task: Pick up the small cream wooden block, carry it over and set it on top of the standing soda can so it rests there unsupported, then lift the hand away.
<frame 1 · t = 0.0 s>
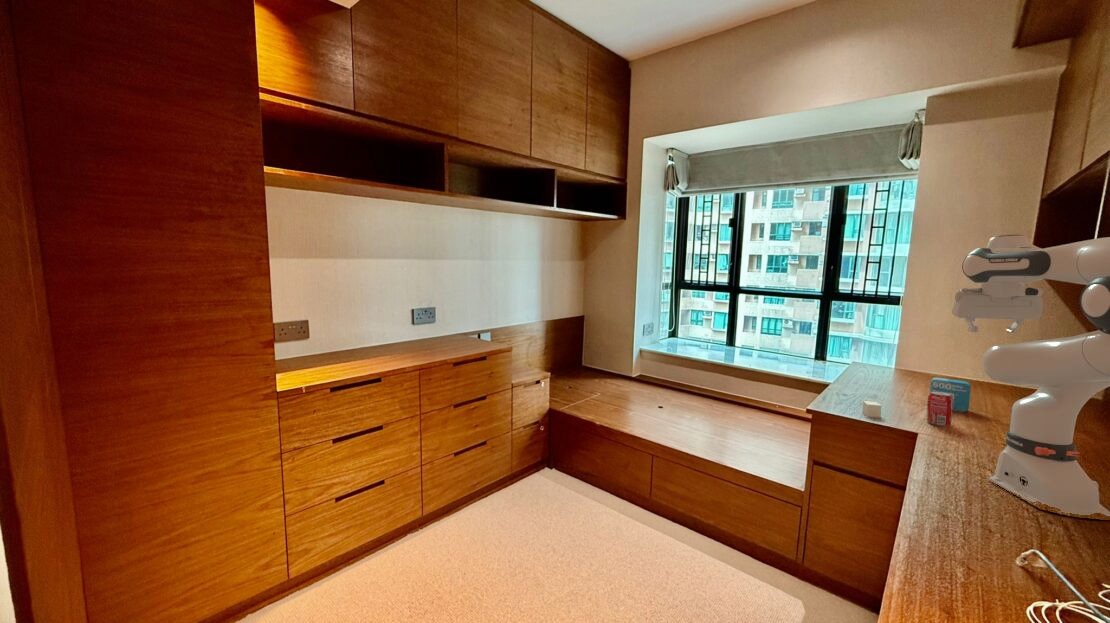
hand: (991, 332, 132), 39 cm above the worktop, tool pointing down, fingers open, 8 cm apart
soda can: (938, 424, 160), on the worktop
cream block: (871, 415, 170), on the worktop
data package: (948, 408, 176), on the worktop
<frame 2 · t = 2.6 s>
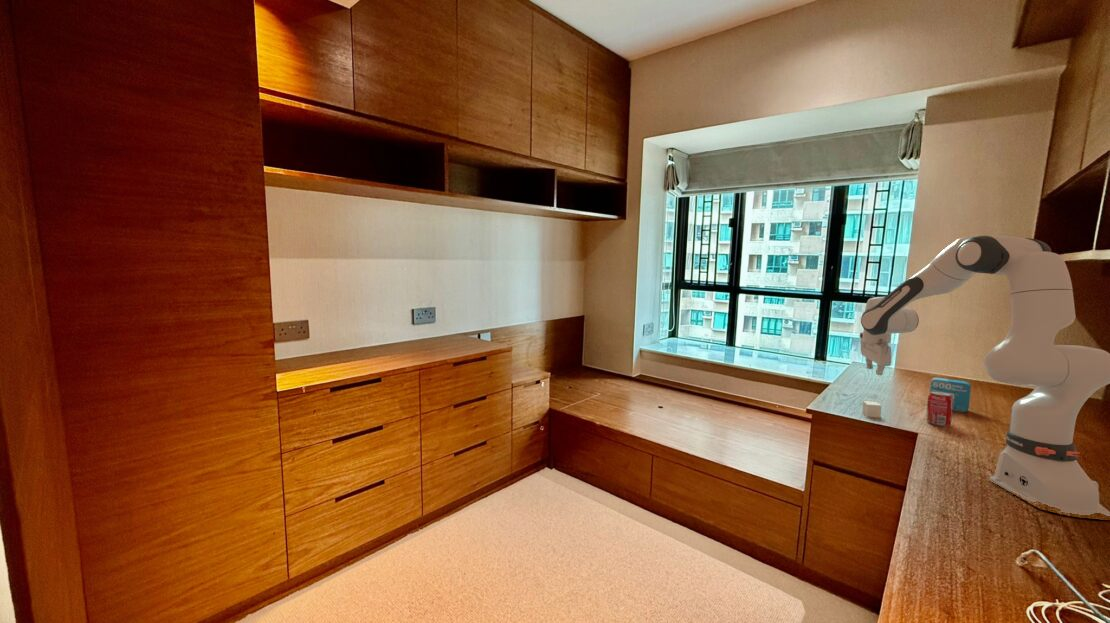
hand: (874, 371, 168), 18 cm above the worktop, tool pointing down, fingers open, 8 cm apart
nothing on the worktop moved.
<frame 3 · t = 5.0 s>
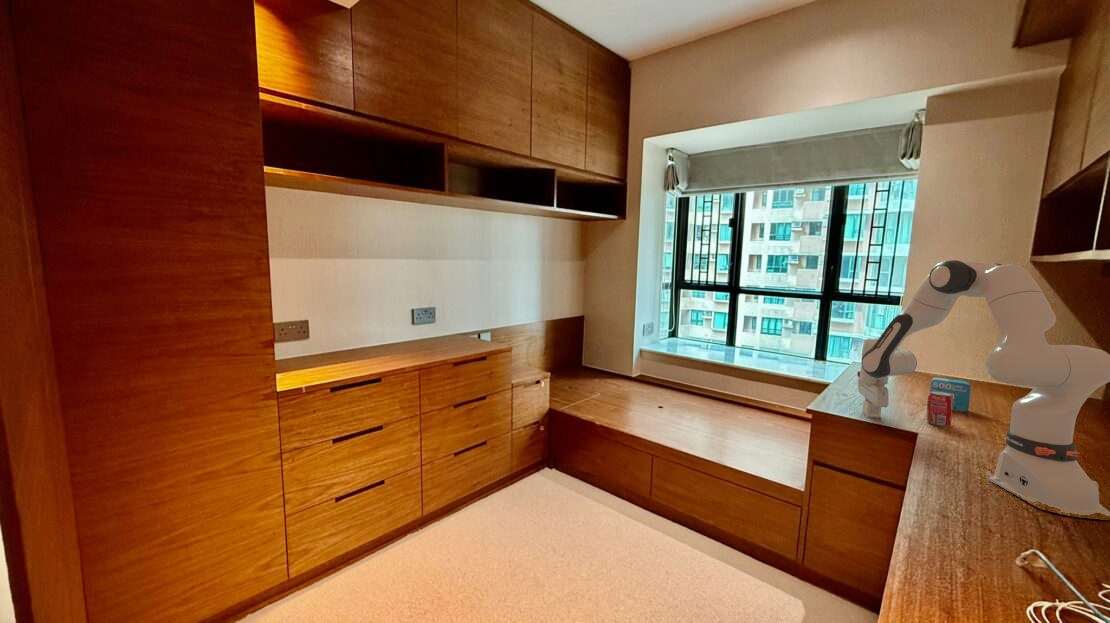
hand: (871, 411, 169), 2 cm above the worktop, tool pointing down, fingers closed on cream block, 5 cm apart
cream block: (871, 415, 170), on the worktop, touching gripper
everything else where it was.
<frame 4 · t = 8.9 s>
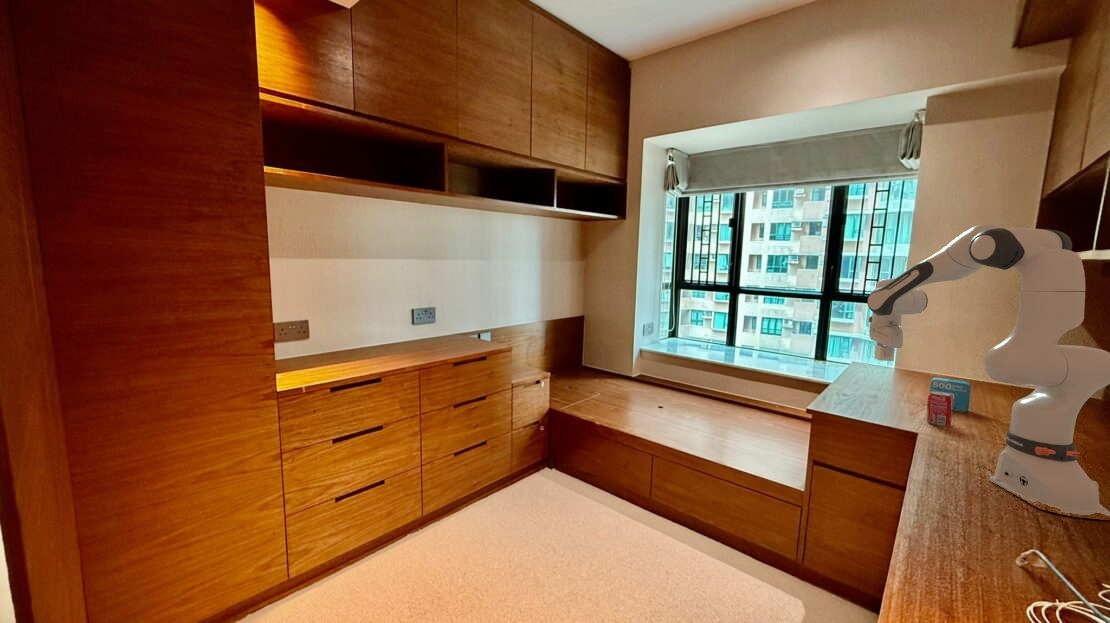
hand: (884, 355, 165), 25 cm above the worktop, tool pointing down, fingers closed on cream block, 5 cm apart
cream block: (884, 359, 166), point 23 cm above the worktop, touching gripper
everything else where it was.
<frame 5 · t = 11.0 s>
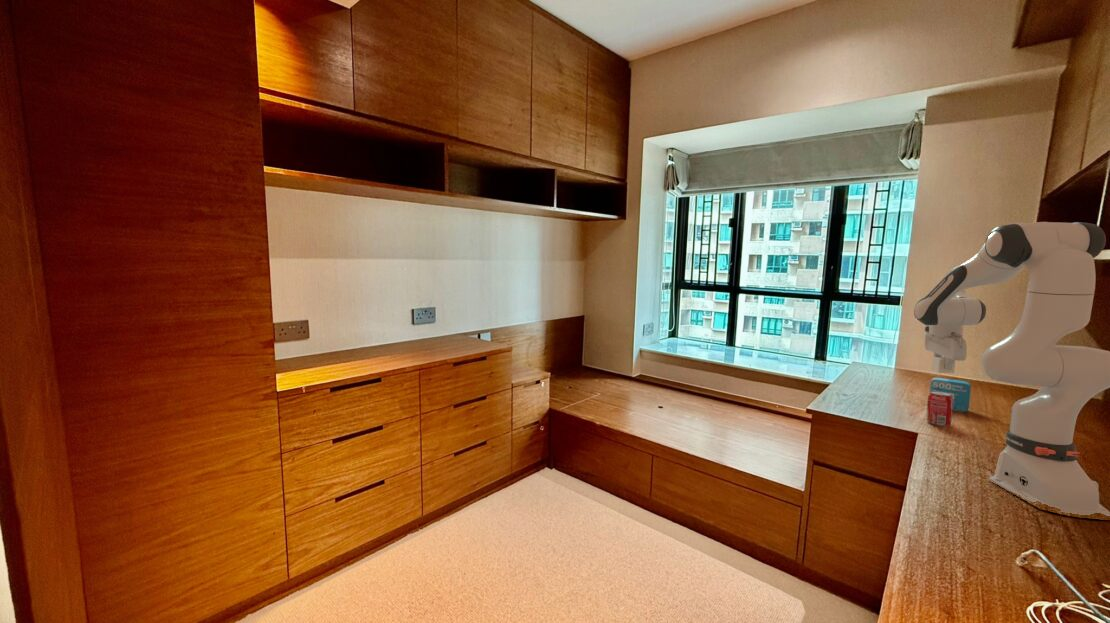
hand: (943, 367, 157), 22 cm above the worktop, tool pointing down, fingers closed on cream block, 5 cm apart
cream block: (942, 371, 157), point 20 cm above the worktop, touching gripper
everything else where it was.
when the fingers open (15 cm above the worktop, at t = 12.9 s): cream block drops 1 cm, resting on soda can.
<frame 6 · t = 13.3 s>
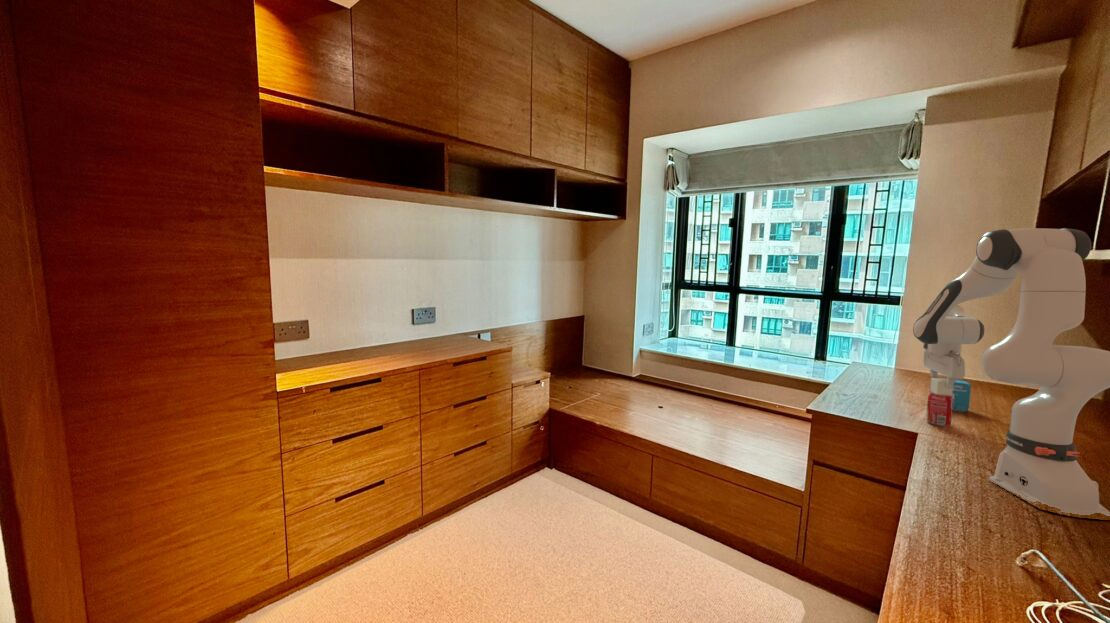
hand: (941, 384, 158), 15 cm above the worktop, tool pointing down, fingers open, 8 cm apart
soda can: (938, 424, 160), on the worktop, touching cream block
cream block: (941, 393, 158), point 12 cm above the worktop, touching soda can
everything else where it was.
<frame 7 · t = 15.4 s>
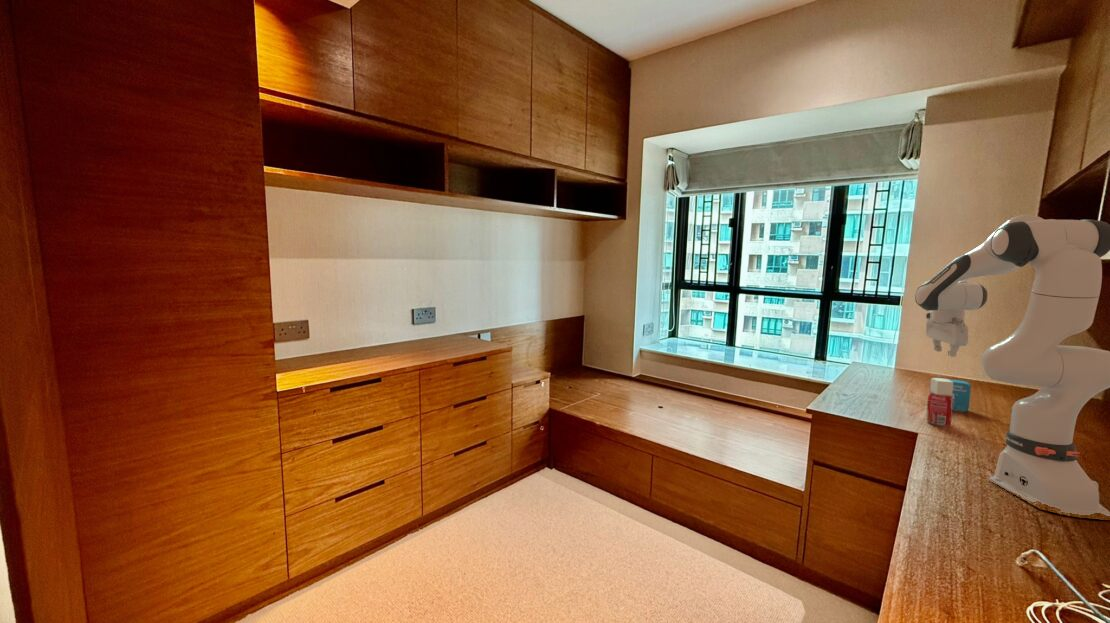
hand: (944, 353, 157), 27 cm above the worktop, tool pointing down, fingers open, 8 cm apart
nothing on the worktop moved.
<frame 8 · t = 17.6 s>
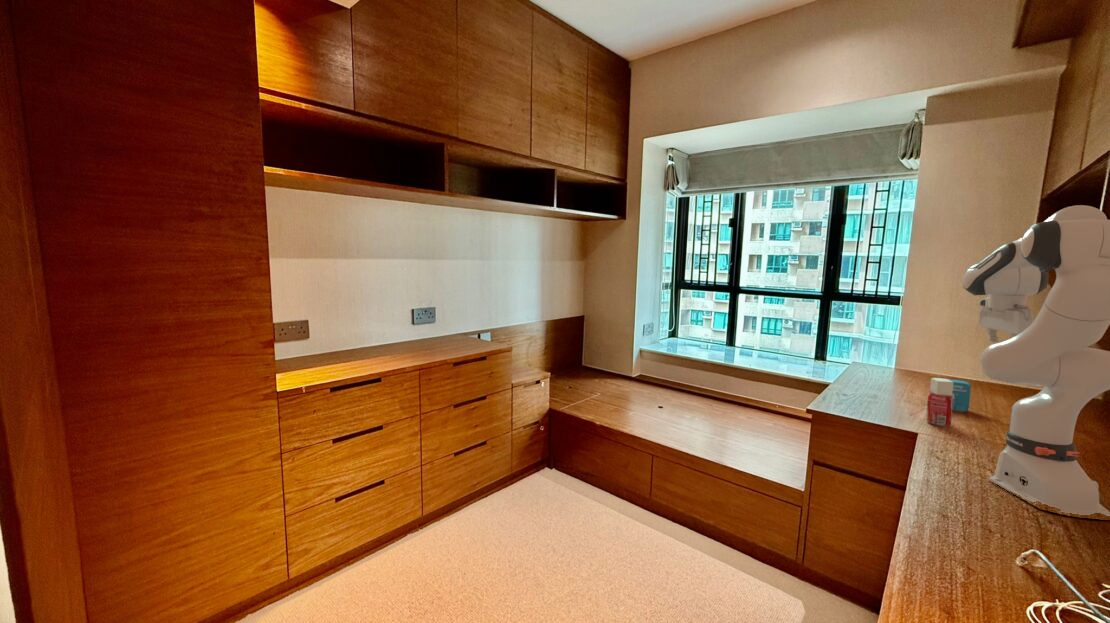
hand: (1002, 344, 141), 33 cm above the worktop, tool pointing down, fingers open, 8 cm apart
nothing on the worktop moved.
at the end: cream block 0.0 cm off-centre on the pop, point 12.2 cm above the pop's base; cream block tilted 0°; the gripper is holding nothing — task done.
